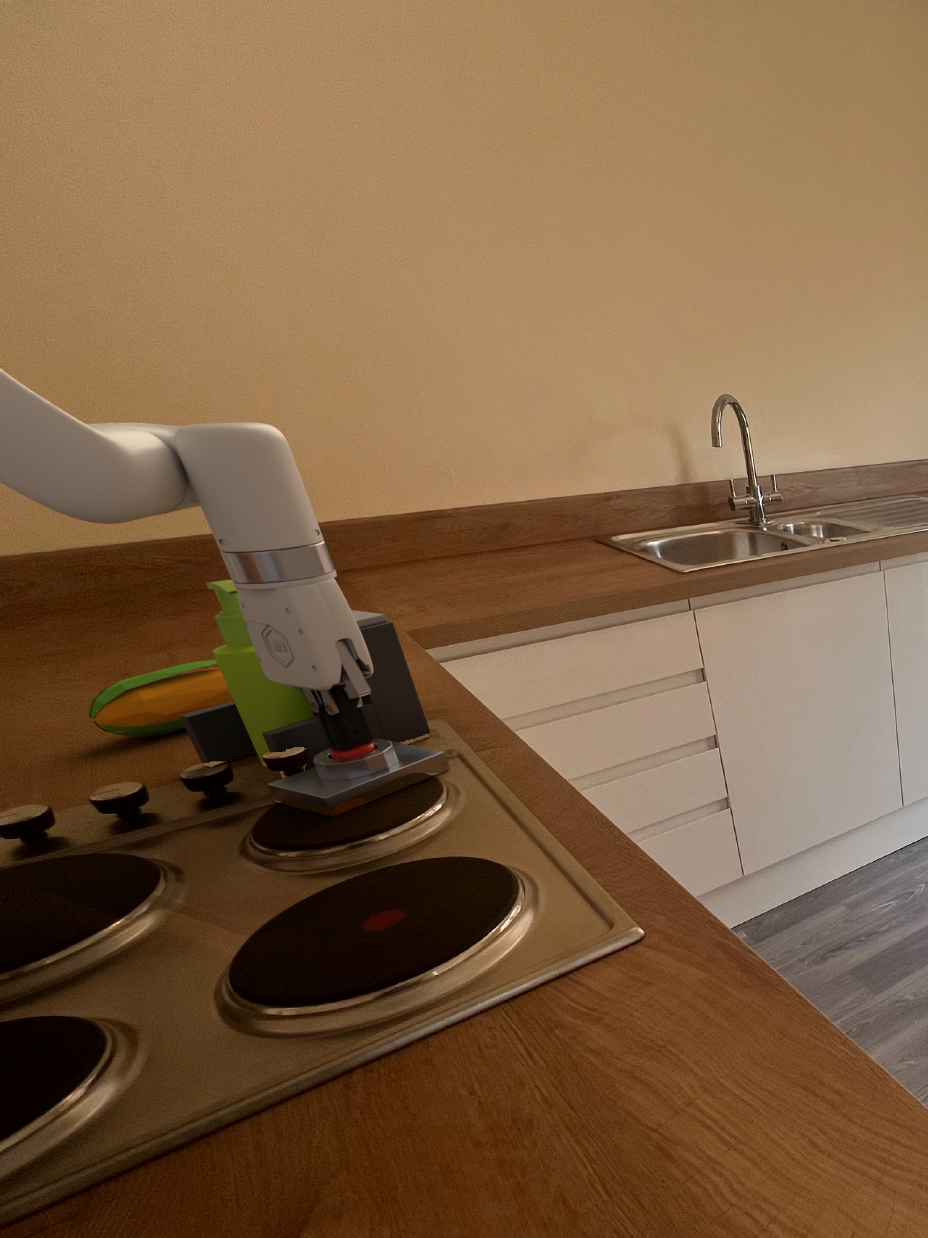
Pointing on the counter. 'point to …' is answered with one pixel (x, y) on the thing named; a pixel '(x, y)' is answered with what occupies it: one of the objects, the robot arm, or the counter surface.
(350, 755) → the button
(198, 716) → the coffee maker
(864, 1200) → the counter surface
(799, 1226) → the counter surface
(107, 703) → the corn
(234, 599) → the soap dispenser
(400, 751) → the button block
